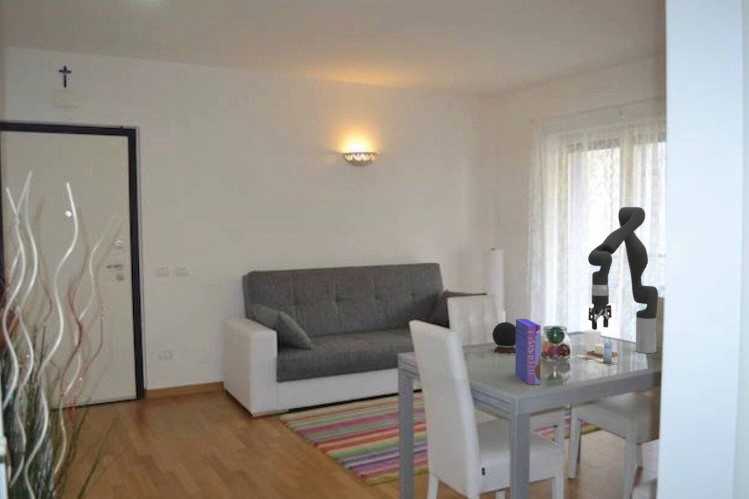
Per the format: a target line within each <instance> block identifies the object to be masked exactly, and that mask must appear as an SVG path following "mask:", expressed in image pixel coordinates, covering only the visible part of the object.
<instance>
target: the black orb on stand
mask: <svg viewBox="0 0 749 499" xmlns="http://www.w3.org/2000/svg"><path fill="white" fill-rule="evenodd" d="M492 340H493V342H494V343H495V345H496V347H495V348H494V349H493V350H494V351H496V352H499V353H498V354H500V353H508V354H507V355H512V354H511V353H514V354H516V347H515V346H516V325H515V324H514V323H511V322H509V321H504V322H499V323H498V324H497V325H495V327H494V328H493V330H492ZM494 351H493V352H494ZM496 352H495V353H496Z"/></svg>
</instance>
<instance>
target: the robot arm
mask: <svg viewBox="0 0 749 499" xmlns="http://www.w3.org/2000/svg"><path fill="white" fill-rule="evenodd" d="M617 215H618V216H617V218H618V224H619V226H620V227H618V228H617V229H615V230H614V231H612V232H611V233H610V234H609V233H608V234H609V235H607V236H606V238H605V239H604V240H603V242H601V243H600V244H599V245H598V246H596V247H594V248H593V249H592V250H591V251H590V253H589V254H588V257H587V258H588V259H587V260H588V263H589V264H590V265H591V266H593V267H600V268H599V270H596V271H593V272H592V277H591V279H592V280H591V305H593V306H592V307H588V317H587V318H588V321H590V322H591V329H592V330H595V331H598V319H599V318H600V317H601V316H602V318H603V320H602V323H603V324H602V325H603V326H602V327H603V328H609V320H610V318H612V317H613V316H612V305H611V304H609V302H610V300H609V298H610V297H609V296H610V294H609V292H610V290H609V289H610V288H609V274H610V271H611V267H612V263H613V256H612V255H613V254H615V253H616V252H617V251H618V249H619V247H620V246H621V245H622V244H623V243H624V246H625V251H626V258H627V262H628V267H629V273H630V274H629V275H630V279H631V281H630V282H631V290H632V291H631V292H632V299H633V301H634V302H635V303H637V304H643V305H646V306H645V308H644V309H642V310H641V309H640V310H637V311H636V313H635V351H636V352H637V353H641V354H654V353H656V352H657V313H658V304H659V303H658V302H659V290H658V288H657V287H656V286H653V285H643V283H642V276H643V274H644V272H645V270H646V269H647V266H648V263H649V258H648V250H647V248H646V246H645V245H644V243H643V241H641V239H639V237H638V236H637V233H635V232H636V230H637V229H638V228H639V227H641V226H642V225H643V224H644V222H645V219H646V212H645V209H644V208H642V207H640V206H622V207H620V209H619V211H618V214H617Z"/></svg>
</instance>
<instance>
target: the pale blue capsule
mask: <svg viewBox="0 0 749 499" xmlns="http://www.w3.org/2000/svg"><path fill="white" fill-rule="evenodd" d="M603 345H604V358H602V360H603V362H604V363H612V362H613V357H612V352H613V347H612V343H611V342H608V341H607V342H605V343H604V344H603Z"/></svg>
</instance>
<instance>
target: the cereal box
mask: <svg viewBox="0 0 749 499" xmlns="http://www.w3.org/2000/svg"><path fill="white" fill-rule="evenodd" d="M515 327H516V344H515V348H516V353H515V369H514V370H515V372H514V373H515V374H514V375H515V376H516V377H517V378H519V379H520V380H522V381H523V382H524V383H525V384H526V385H527V386H540V385H541V367H542V366H541V365H542V364H541V361H542V358H541V354H542V352H541V350H542V349H541V348H542V346H541V345H542V344H541V342H542V341H541V340H542V337H541V336H542V332H541V331H542V325H541V324H538V323H536V322H533V321H532V320H530V319H527V318H516V319H515Z"/></svg>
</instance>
